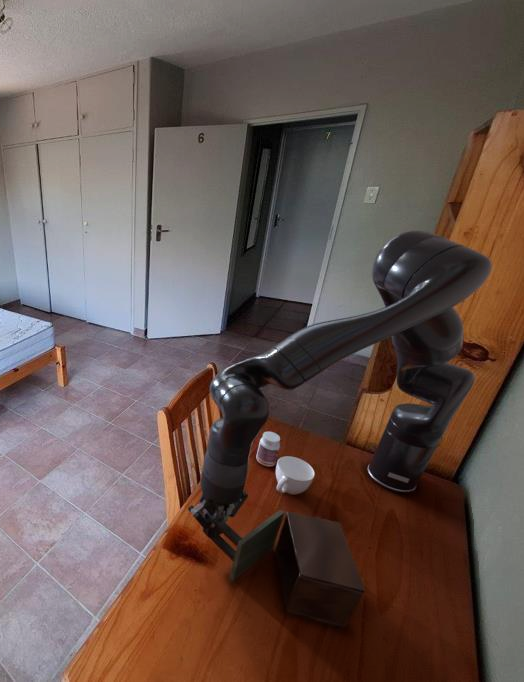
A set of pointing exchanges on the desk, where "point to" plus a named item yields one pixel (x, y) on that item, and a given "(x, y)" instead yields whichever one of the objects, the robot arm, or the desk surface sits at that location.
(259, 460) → the pill bottle
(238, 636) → the desk surface
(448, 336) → the robot arm
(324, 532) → the cupboard
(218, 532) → the cupboard door
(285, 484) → the cup
